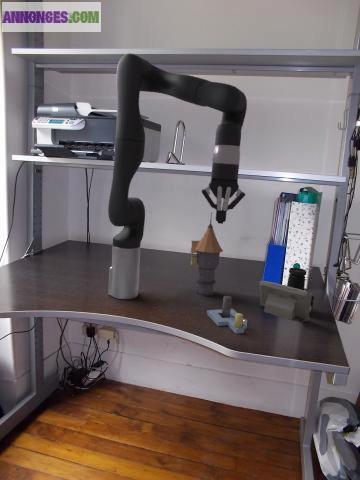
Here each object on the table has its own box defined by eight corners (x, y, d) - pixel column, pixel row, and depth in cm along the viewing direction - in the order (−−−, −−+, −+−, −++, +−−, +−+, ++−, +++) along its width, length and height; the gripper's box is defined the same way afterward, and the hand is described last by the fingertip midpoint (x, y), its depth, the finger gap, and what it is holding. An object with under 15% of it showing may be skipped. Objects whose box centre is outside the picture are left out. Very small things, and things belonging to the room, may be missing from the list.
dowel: (241, 329, 103) (242, 320, 102) (242, 327, 104) (243, 318, 103) (245, 330, 103) (246, 321, 102) (246, 328, 104) (247, 319, 103)
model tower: (187, 291, 135) (194, 209, 129) (218, 293, 134) (225, 211, 129) (186, 300, 126) (193, 212, 120) (219, 303, 125) (227, 215, 119)
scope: (316, 276, 115) (283, 270, 119) (309, 318, 118) (278, 311, 122) (318, 270, 122) (287, 265, 126) (313, 310, 125) (282, 303, 129)
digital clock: (311, 322, 114) (316, 289, 112) (296, 329, 108) (301, 295, 106) (267, 305, 126) (271, 275, 124) (251, 311, 120) (254, 280, 118)
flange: (207, 314, 111) (208, 299, 110) (232, 312, 114) (233, 298, 113) (225, 334, 99) (227, 317, 98) (253, 332, 101) (255, 316, 100)
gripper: (203, 160, 101) (198, 223, 104) (251, 164, 101) (245, 226, 104) (201, 161, 108) (197, 219, 111) (247, 164, 108) (241, 222, 111)
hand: (220, 223), depth 108 cm, fingers closed
